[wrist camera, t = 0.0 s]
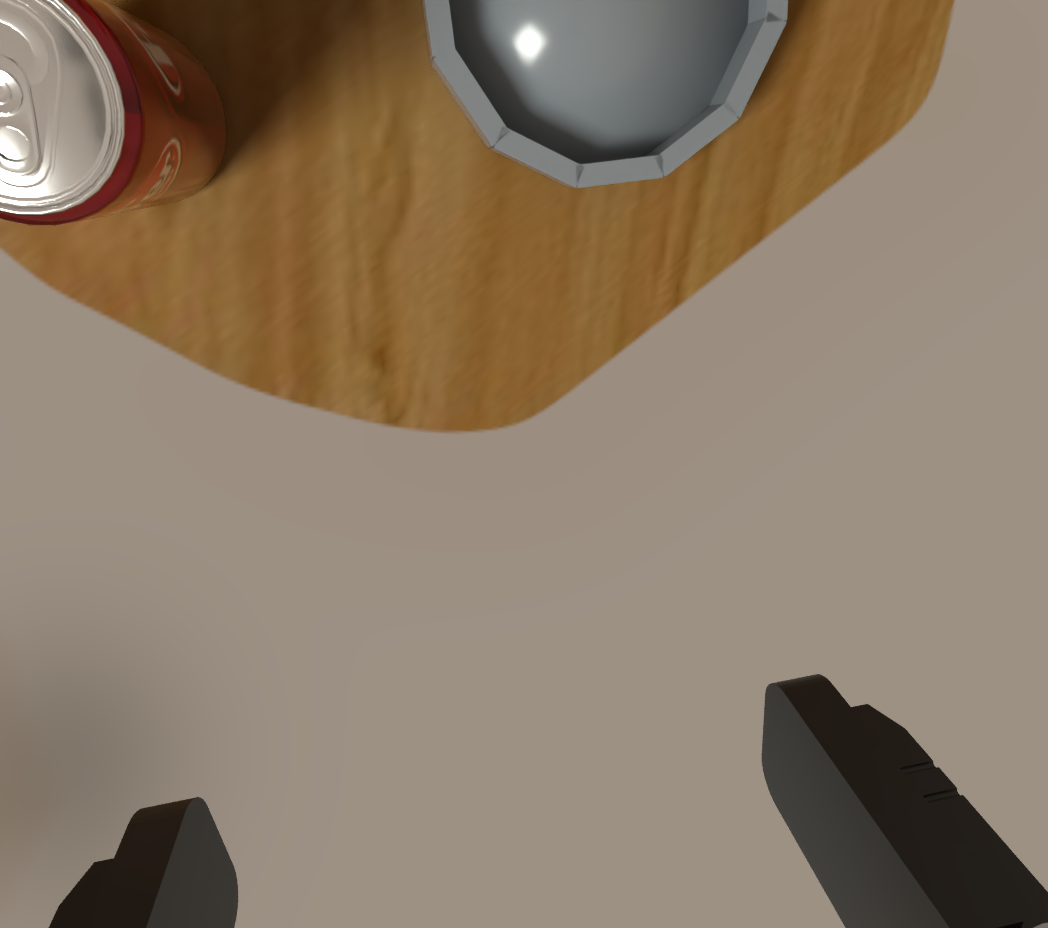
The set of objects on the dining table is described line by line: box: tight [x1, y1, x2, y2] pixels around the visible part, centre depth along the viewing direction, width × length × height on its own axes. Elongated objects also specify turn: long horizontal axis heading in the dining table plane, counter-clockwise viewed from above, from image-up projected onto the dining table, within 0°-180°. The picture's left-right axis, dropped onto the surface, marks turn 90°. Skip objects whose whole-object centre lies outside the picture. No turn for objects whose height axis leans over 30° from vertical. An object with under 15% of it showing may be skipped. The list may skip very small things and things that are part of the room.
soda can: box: [0, 0, 227, 226], centre depth 25 cm, size 7×7×12 cm
